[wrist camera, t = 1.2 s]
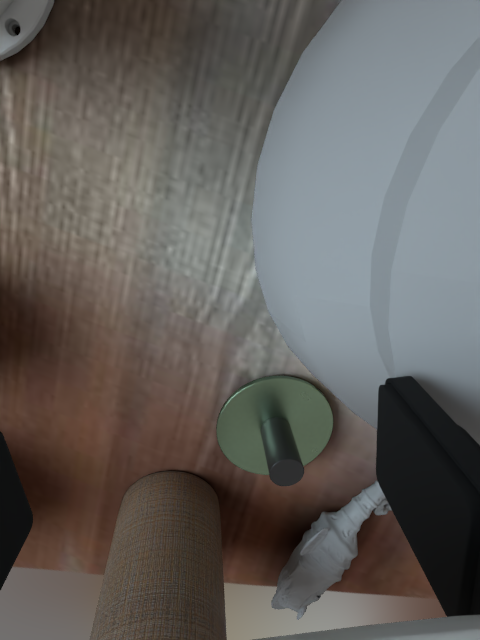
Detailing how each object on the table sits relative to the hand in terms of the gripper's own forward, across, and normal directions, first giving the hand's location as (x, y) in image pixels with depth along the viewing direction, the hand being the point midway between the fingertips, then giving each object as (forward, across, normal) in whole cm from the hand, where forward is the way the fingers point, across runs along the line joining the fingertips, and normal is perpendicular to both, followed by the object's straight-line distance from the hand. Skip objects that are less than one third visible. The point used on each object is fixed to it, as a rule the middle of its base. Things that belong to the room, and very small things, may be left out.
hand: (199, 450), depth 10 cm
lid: (+23, -4, +16) cm, 29 cm away
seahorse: (+24, -17, +25) cm, 39 cm away
